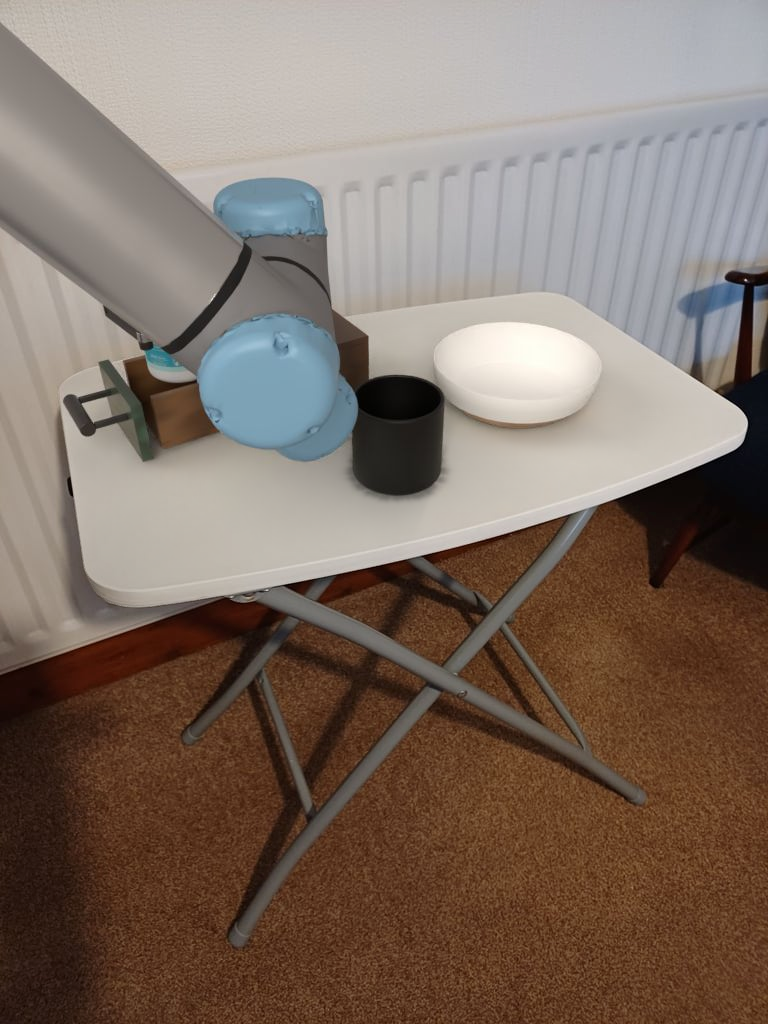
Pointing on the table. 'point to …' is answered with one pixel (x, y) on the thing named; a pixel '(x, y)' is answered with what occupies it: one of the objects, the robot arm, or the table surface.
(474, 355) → the bowl
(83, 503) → the table surface
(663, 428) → the table surface
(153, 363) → the pill bottle
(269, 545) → the table surface
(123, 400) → the drawer
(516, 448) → the table surface
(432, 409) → the mug
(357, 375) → the cabinet
